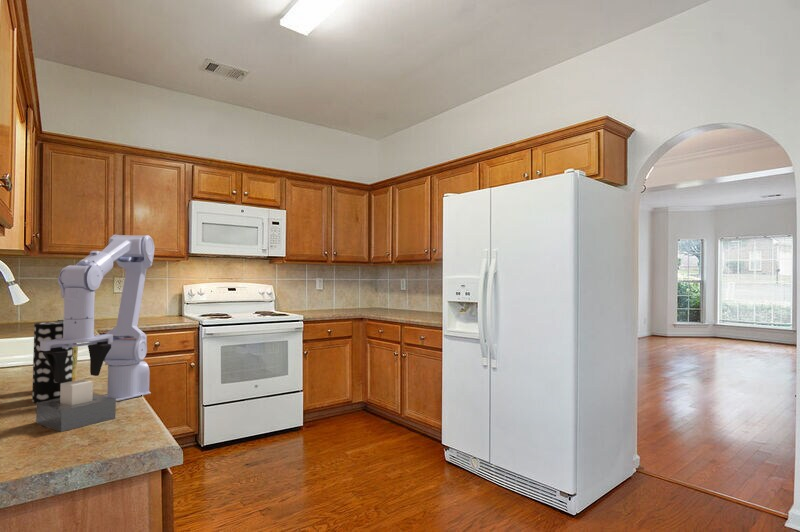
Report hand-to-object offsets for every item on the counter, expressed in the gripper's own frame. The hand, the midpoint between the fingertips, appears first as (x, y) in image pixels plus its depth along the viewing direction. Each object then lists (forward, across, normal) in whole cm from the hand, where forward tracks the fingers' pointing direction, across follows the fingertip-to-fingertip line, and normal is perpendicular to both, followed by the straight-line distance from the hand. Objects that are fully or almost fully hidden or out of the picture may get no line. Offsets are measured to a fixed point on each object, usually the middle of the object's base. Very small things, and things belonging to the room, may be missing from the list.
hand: (77, 378), depth 104 cm
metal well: (+9, 0, 0) cm, 9 cm away
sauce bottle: (+10, -16, -34) cm, 38 cm away
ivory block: (+9, 0, 0) cm, 9 cm away
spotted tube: (+10, -8, -24) cm, 27 cm away
